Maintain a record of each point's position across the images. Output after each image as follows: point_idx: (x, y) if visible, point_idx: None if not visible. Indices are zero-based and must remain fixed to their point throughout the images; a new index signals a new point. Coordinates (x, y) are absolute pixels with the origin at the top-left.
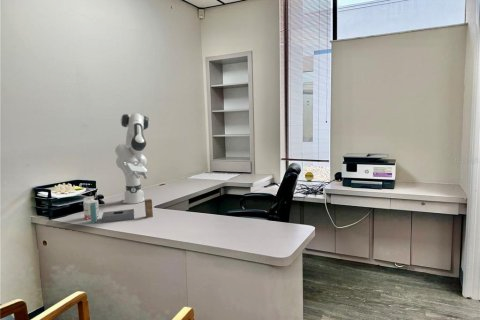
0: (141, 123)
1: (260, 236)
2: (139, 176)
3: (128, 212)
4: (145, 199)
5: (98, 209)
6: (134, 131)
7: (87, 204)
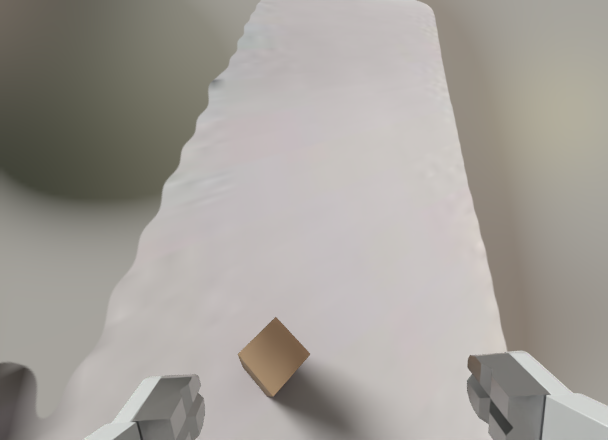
0: None
1: (362, 21)
2: (497, 357)
3: None
4: (272, 386)
5: None
6: None
7: None
